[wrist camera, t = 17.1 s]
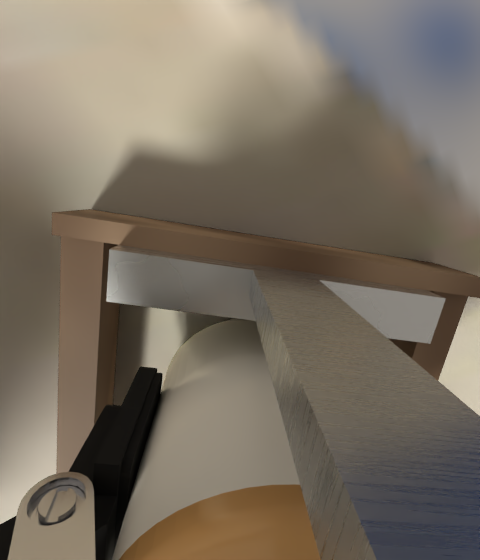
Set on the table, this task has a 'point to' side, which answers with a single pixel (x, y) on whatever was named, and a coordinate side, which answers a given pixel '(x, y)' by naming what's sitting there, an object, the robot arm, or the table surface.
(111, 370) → the brown wooden frame
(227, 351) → the jar
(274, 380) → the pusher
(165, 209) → the table surface
